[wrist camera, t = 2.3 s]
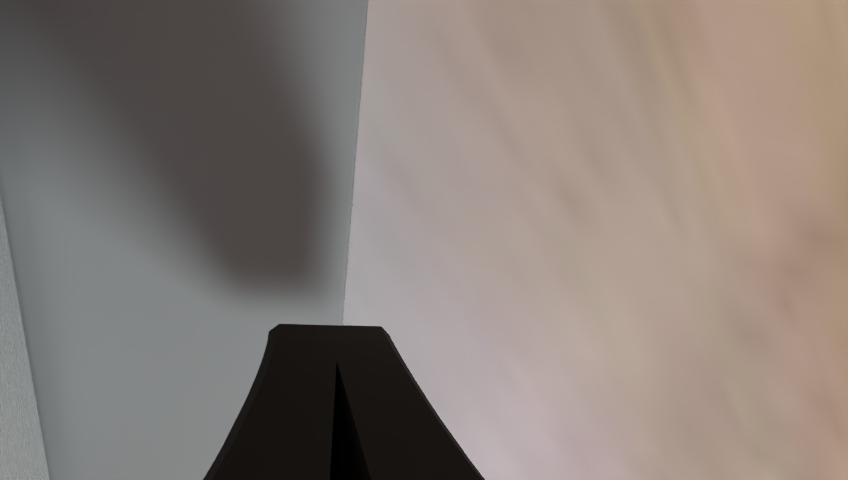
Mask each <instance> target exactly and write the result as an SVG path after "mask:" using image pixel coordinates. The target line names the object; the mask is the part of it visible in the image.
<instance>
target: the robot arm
mask: <svg viewBox="0 0 848 480" xmlns="http://www.w3.org/2000/svg"><path fill="white" fill-rule="evenodd" d="M203 480H485V479H484V478H483V477H482V475H481V474H480V473H479V472H478V470H477V469H476V468H475V466H474V465H473V464H472V462H471V461H470V460H469V458H468V457H467V455H466V454H465V453H464V451H463V450H462V448H461V447H460V446H459V444H458V443H457V441H456V440H455V439H454V437H453V436H452V434H451V433H450V432H449V430H448V429H447V427H446V426H445V425H444V423H443V422H442V420H441V419H440V418H439V416H438V415H437V413H436V412H435V410H434V409H433V407H432V406H431V404H430V403H429V401H428V400H427V398H426V396H425V395H424V393H423V392H422V390H421V389H420V387H419V385H418V384H417V382H416V381H415V379H414V377H413V376H412V374H411V373H410V371H409V369H408V368H407V366H406V364H405V363H404V361H403V359H402V357H401V356H400V354H399V352H398V350H397V349H396V347H395V345H394V343H393V341H392V340H391V338H390V336H389V334H388V333H387V332H386V331H385V330H384V329H383V328H382V327H378V326H342V325H307V324H278V325H277V326H275V327H274V328H273V329H271V330H270V331H269V333H268V340H267V345H266V348H265V352H264V355H263V358H262V361H261V364H260V367H259V370H258V372H257V375H256V377H255V380H254V382H253V384H252V387H251V389H250V391H249V394H248V396H247V398H246V400H245V402H244V404H243V406H242V408H241V410H240V412H239V414H238V416H237V418H236V420H235V422H234V424H233V426H232V428H231V430H230V432H229V434H228V436H227V438H226V440H225V442H224V444H223V446H222V448H221V450H220V451H219V453H218V455H217V457H216V459H215V460H214V462H213V464H212V465H211V467H210V469H209V470H208V472H207V474H206V475H205V477H204V479H203Z"/></svg>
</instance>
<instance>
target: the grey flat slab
mask: <svg viewBox="0 0 848 480" xmlns="http://www.w3.org/2000/svg"><path fill="white" fill-rule="evenodd" d="M367 10H368V0H0V196H1V202H2V208H3V214H4V219H5V225H6V231H7V237H8V242H9V248H10V254H11V260H12V265H13V271H14V277H15V283H16V288H17V294H18V300H19V306H20V311H21V317H22V323H23V329H24V334H25V340H26V346H27V352H28V357H29V363H30V369H31V375H32V381H33V386H34V392H35V398H36V404H37V409H38V415H39V421H40V427H41V432H42V438H43V444H44V450H45V455H46V461H47V467H48V473H49V478H50V480H203V479H204V477H205V475H206V474H207V472H208V470H209V469H210V467H211V465H212V464H213V462H214V460H215V459H216V457H217V455H218V453H219V451H220V450H221V448H222V446H223V444H224V442H225V440H226V438H227V436H228V434H229V432H230V430H231V428H232V426H233V424H234V422H235V420H236V418H237V416H238V414H239V412H240V410H241V408H242V406H243V404H244V402H245V400H246V398H247V396H248V394H249V391H250V389H251V387H252V384H253V382H254V380H255V377H256V375H257V372H258V370H259V367H260V364H261V361H262V358H263V355H264V352H265V348H266V345H267V340H268V333H269V331H270V330H271V329H273V328H274V327H275V326H277V325H278V324H307V325H343V312H344V300H345V287H346V274H347V262H348V249H349V237H350V224H351V211H352V199H353V186H354V174H355V161H356V148H357V136H358V123H359V110H360V98H361V85H362V73H363V60H364V47H365V35H366V22H367Z"/></svg>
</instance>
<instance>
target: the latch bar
mask: <svg viewBox="0 0 848 480" xmlns="http://www.w3.org/2000/svg"><path fill="white" fill-rule="evenodd" d="M0 480H50V478H49V473H48V467H47V461H46V455H45V450H44V444H43V438H42V432H41V427H40V421H39V415H38V409H37V404H36V398H35V392H34V386H33V381H32V375H31V369H30V363H29V357H28V352H27V346H26V340H25V334H24V329H23V323H22V317H21V311H20V306H19V300H18V294H17V288H16V283H15V277H14V271H13V265H12V260H11V254H10V248H9V242H8V237H7V231H6V225H5V219H4V214H3V208H2V202H1V196H0Z"/></svg>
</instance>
